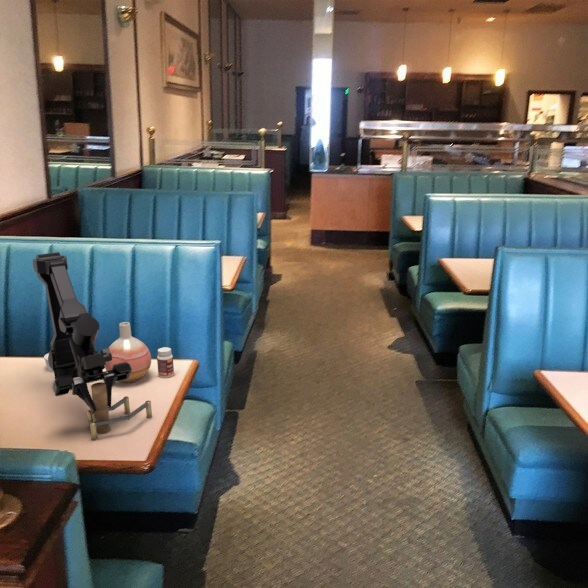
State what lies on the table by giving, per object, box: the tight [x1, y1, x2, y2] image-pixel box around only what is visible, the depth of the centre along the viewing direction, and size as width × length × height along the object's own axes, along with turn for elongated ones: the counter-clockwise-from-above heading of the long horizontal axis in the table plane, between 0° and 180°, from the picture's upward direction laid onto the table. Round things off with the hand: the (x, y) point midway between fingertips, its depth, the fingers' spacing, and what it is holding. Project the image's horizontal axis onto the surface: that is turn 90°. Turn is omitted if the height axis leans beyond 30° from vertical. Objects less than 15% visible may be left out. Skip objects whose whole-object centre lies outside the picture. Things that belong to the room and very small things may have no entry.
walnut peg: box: [90, 381, 111, 435], centre depth 156 cm, size 4×4×12 cm
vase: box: [104, 321, 152, 384], centre depth 186 cm, size 14×14×18 cm
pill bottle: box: [156, 346, 175, 379], centre depth 190 cm, size 5×5×8 cm
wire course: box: [86, 395, 153, 441], centre depth 160 cm, size 15×16×4 cm
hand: (102, 409), depth 155 cm, fingers closed on walnut peg, 3 cm apart
